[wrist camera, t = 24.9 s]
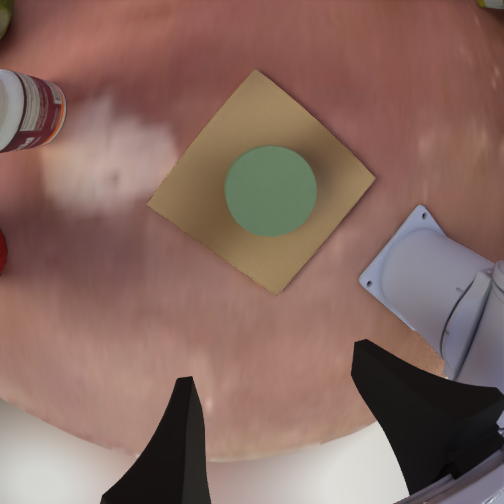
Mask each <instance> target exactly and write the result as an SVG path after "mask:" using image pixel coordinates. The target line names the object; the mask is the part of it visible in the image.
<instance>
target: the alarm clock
mask: <svg viewBox="0 0 504 504" xmlns="http://www.w3.org/2000/svg"><path fill="white" fill-rule="evenodd" d="M478 4H479V6H480V7H489V8H497V9H504V0H478Z"/></svg>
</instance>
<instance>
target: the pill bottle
mask: <svg viewBox="0 0 504 504" xmlns="http://www.w3.org/2000/svg"><path fill="white" fill-rule="evenodd" d="M65 114H66V100H65V97H64V94H63V92H62V90H61V89H60V88H59V87H58V86H57V85H55V84H54V83H52V82H49V81H46V80H42V79H39V78H36V77H33V76H29V75H25V74H22V73H17V72H14V71H11V70H6V69H1V70H0V153H3V152H9V151H17V150H23V149H29V148H36V147H40V146H43V145H45V144H47V143H49V142H50V141H51V140H52V139H53V138H54V137H55V136H56V135H57V134H58V132H59V131H60V129H61V127H62V125H63V122H64V119H65Z"/></svg>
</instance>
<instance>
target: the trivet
mask: <svg viewBox="0 0 504 504" xmlns="http://www.w3.org/2000/svg"><path fill="white" fill-rule="evenodd" d="M264 145H271V146H279V147H284V148H287V149H290V150H292V151H294V152H296V153H297V154H299V155H300V156H301V157H302V158H304V160H305V161H306V162H307V163H308V164H309V166H310V167H311V169H312V171H313V173H314V176H315V179H316V185H317V196H316V201H315V204H314V207H313V210H312V212H311V213H310V215H309V217H308V218H307V219H306V220H305V222H304V223H303V224H302V225H300V226H299V227H298V228H297V229H295V230H293V231H292V232H289V233H287V234H284V235H281V236H276V237H265V236H259V235H256V234H253V233H251V232H249V231H247V230H245V229H244V228H243V227H241V226H240V225H239V224H238V223H237V222H236V221H235V219H234V218H233V216H232V215H231V213H230V211H229V209H228V205H227V202H226V198H225V193H224V184H225V178H226V174H227V172H228V170H229V168H230V166H231V164H232V163H233V162H234V160H235V159H236V158H237V157H238V156H240V155H241V154H242V153H243V152H245V151H247V150H249V149H251V148H254V147H257V146H264ZM375 179H376V178H375V177H374V176H373V175H372V173H371V172H370V171H369V170H368V169H367V168H366V167H365V166H364V165H363V164H362V163H361V162H360V161H359V160H358V159H357V158H356V157H355V156H354V155H353V154H352V153H351V152H350V151H349V150H348V149H347V148H346V147H345V146H344V145H343V144H342V143H341V142H340V141H339V140H338V139H337V138H336V137H335V136H334V135H333V134H332V133H331V132H330V131H328V130H327V129H326V128H325V127H324V126H323V125H322V124H321V123H320V122H319V121H318V120H317V119H315V118H314V117H313V116H312V115H311V114H310V113H309V112H308V111H307V110H305V109H304V108H303V107H302V106H301V105H300V104H299V103H297V102H296V101H295V100H294V99H293V98H292V97H290V96H289V95H288V94H287V93H286V92H284V91H283V90H282V89H281V88H280V87H278V86H277V85H276V84H275V83H273V82H272V81H271V80H270V79H268V78H267V77H266V76H265V75H263V74H262V73H261V72H260V71H258V70H257V69H255V70H254V71H253V72H252V73H251V74H250V75H249V76H248V77H247V78H246V79H245V81H244V82H243V83H242V84H241V85H240V86H239V87H238V88H237V90H236V91H235V92H234V93H233V94H232V95H231V96H230V98H229V99H228V100H227V101H226V102H225V103H224V105H223V106H222V107H221V108H220V109H219V110H218V112H217V113H216V114H215V115H214V116H213V118H212V119H211V120H210V121H209V122H208V124H207V125H206V126H205V127H204V129H203V130H202V131H201V132H200V134H199V135H198V136H197V137H196V139H195V140H194V141H193V142H192V144H191V145H190V146H189V148H188V149H187V150H186V151H185V153H184V154H183V155H182V157H181V158H180V159H179V161H178V162H177V163H176V165H175V166H174V167H173V169H172V170H171V171H170V173H169V174H168V175H167V177H166V178H165V180H164V181H163V182H162V184H161V185H160V187H159V188H158V189H157V191H156V192H155V194H154V195H153V196H152V198H151V199H150V201H149V202H148V204H147V205H148V206H149V207H150V208H152V209H153V210H155V211H156V212H157V213H159V214H160V215H162V216H163V217H164V218H166V219H167V220H169V221H170V222H171V223H173V224H174V225H176V226H177V227H178V228H180V229H181V230H183V231H184V232H185V233H187V234H188V235H190V236H191V237H192V238H194V239H195V240H197V241H198V242H200V243H201V244H202V245H204V246H205V247H207V248H208V249H210V250H211V251H212V252H214V253H215V254H217V255H218V256H220V257H221V258H222V259H224V260H225V261H227V262H228V263H230V264H231V265H232V266H234V267H235V268H237V269H238V270H240V271H241V272H243V273H244V274H245V275H247V276H248V277H250V278H251V279H253V280H254V281H256V282H257V283H259V284H260V285H261V286H263V287H264V288H266V289H267V290H269V291H270V292H272V293H273V294H275V295H276V296H277V295H278V294H279V293H280V292H281V291H282V290H283V288H284V287H285V286H286V285H287V284H288V283H289V282H290V280H291V279H292V278H293V277H294V276H295V275H296V274H297V272H298V271H299V270H300V269H301V268H302V267H303V266H304V264H305V263H306V262H307V261H308V260H309V259H310V257H311V256H312V255H313V254H314V253H315V252H316V250H317V249H318V248H319V247H320V246H321V245H322V243H323V242H324V241H325V240H326V239H327V238H328V236H329V235H330V234H331V233H332V232H333V230H334V229H335V228H336V227H337V226H338V224H339V223H340V222H341V221H342V220H343V218H344V217H345V216H346V215H347V214H348V212H349V211H350V210H351V209H352V207H353V206H354V205H355V204H356V203H357V201H358V200H359V199H360V198H361V196H362V195H363V194H364V193H365V191H366V190H367V189H368V188H369V187H370V185H371V184H372V183H373V182H374V180H375Z"/></svg>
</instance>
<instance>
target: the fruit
mask: <svg viewBox="0 0 504 504" xmlns="http://www.w3.org/2000/svg"><path fill="white" fill-rule="evenodd" d="M13 10H14V0H0V40H1V39H2V38H3V36H4V34H5V32H6V30H7V28H8V25H9V23H10V21H11V18H12V15H13Z"/></svg>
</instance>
